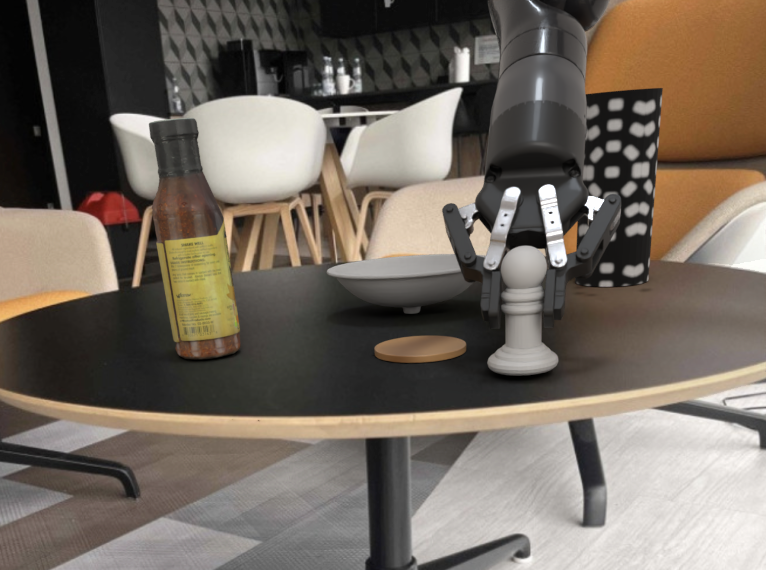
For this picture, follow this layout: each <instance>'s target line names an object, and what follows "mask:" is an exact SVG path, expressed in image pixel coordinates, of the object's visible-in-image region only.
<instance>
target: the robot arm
mask: <svg viewBox="0 0 766 570" xmlns="http://www.w3.org/2000/svg"><path fill="white" fill-rule="evenodd" d="M610 2H611V0H487V6H488V11H489V16H490V20H491V23H492V27H493V30H494V33H495V37H496V40H497V46H498V51H499V60H498V61H499V62H498V72H497V83H496V90H495V94H494V98H493V102H492V106H491V111H490V119H489V129H488V137H487V138H488V139H487V149H486V157H485V168H484V175H483V176H484V178H483V185H482V187H481V189H480V191H479V192H478V193H477V195H476V196H475V200H474V202H472V203H470V204H467V205H463V206H461V207H458V205H457V204H455V203H454V202H451V203H450V202H449V203H446V204H445V205H443V207H442V209H441V212H442V217H443V222H444V227H445V232H446V233H445V234H446V236H447V238H448V241H449V244H450V247H451V248H452V251H453V254H455V256H456V259H457V262H458V264H459V267H460V269H461V272H462V275H463V277H464V280H465V281H466V282H469V283H473V282H474V283H475V282H478V283H481V293H480V303H479V306H480V307H479V308H480V312H481V317H482V320H483V322H487V323H488V324H489V329H490V330H491V329H495V330H496V329H497V330H498V329H501V325H502V313H503V312H502V311H501V305H502V304H503V300H502V299H501V293H502V292H503V291H505V290H504V281H503V279H502V276H501V265H502V261H503V259H504V257H505V255H506V254H507V253H508V252H509V251H510V250H512V249H514V248H516V247H519V246H532V247H535V248H537V249H538V250H544V254H545V259H546V263H547V271H546V276H545V283H544V290H545V296H544V311H542V316H543V317H542V318H543V328H544V329H548V328H550V329H551V328H554V327H555V321H562V319H563V317H564V315H565V309H566V292H567V285H568V283H569V282H570V281H572V280H573V279H575V278H576V277H578V278H580V279H587V278H589V277H590V276H591V275H592V273H593V272H594V270H595V268H596V266H597V264H598V262H599V261H600V259H601V257H602V255H603V253H604V251H605V249H606V248H607V246H608V244H609V242H610V240H611V238H612V237H613V235H614V233H615V231H616V229H617V227H618V226H619V223H620V214H621V197H620V196H619V195H617V194H610V195H608V196H606V198H605V199H600V198H596V197H593V196H589V193H588V190H587V188H586V186H585V185H584V183H583V170H584V153H585V138H586V134H587V125H586V118H587V102H586V94H587V93H586V79H587V78H586V77H587V62H588V39H587V33H586V32H588V31H590V30H592V29H593V28H595V26H596V25H597V24H599V21H600V20H601V19H602V18H603V16H604V15H605V13H606V12H607V9H608V7H609V4H610ZM584 214H587V215H588V226H589V228H588V230H587V232H586V234H585V235H584V237H583V239H582V241H581V243H580V245H579V246H578V248H577V250H576V249H575V251H573V252H570V253H567V250H566V246H565V239H564V236H565V235H566V234H567V233H568V232H569V231H570V230H571V229H572V228H573V227H574V226H575V225H576V224H577V222H578V220H579V219H580V218H581V217H582V216H583V215H584ZM478 220H479V222H480V223H481V224H482V225H483V226H484V227H485V228H486V229H487V231H488V232H489V233H490V238H489V245H488V248H487V251H486V253H485V255H484V256H485V258H484V257H481V256H477V255H478V254H477V252H476V250H475V248H474V245H473V243H472V240H471V235H472V234H473V233H474V231H475V227H474V224H475V223H476V221H478ZM474 283H473V284H474Z"/></svg>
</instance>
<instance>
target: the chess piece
mask: <svg viewBox="0 0 766 570" xmlns="http://www.w3.org/2000/svg"><path fill="white" fill-rule="evenodd" d="M547 270H548V264H547V259H546V256H545V255H544V253H543V252H542V251H541V249H537V248H535V247H532V246H519V247H516V248H514V249H512V250H510V251H509V252H508V253H507V254H506V255H505V257H504V259H503V261H502V265H501V276H502V279H503V284H504V285H505V286H506V287H505V290H504V291H503V292H502V293H501V299H502V300H503V302H502V305H501V311H502V313H503V314H504V315H505V316H504V317H505V318H504V319H505V326H504V327H505V328H504V329H505V343H504V344H503V345H502V346H501V347H499V348H497V350H496V351H495V352H494V353H492V354H491V355H490V356H489V357H488V359H487V362H486V363H487V367H488V368H489V370H490V371H492V372H493V373H496V374H499V375H504V376H531V375H540V374H544V373H547V372H550V371H553V370H554V368H556V367H557V366H558V364H559V355H558V354H557V353H556V352H554V351H553V350H551V349H550V348H549V347H548V346H547V345H546V344H545V343H544V342H542V335H543V334H542V333H543V331H542V328H543V327H542V323H543V321H542V320H543V319H542V318H543V317H542V316H543V311H544V296H545V288H544V286H543V285H542V284H543V282H544V281H545V280H546V271H547Z"/></svg>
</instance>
